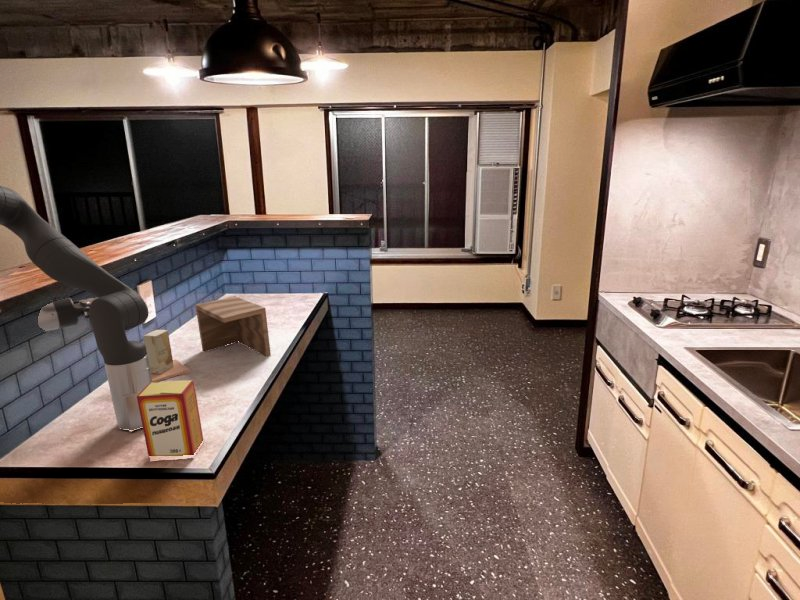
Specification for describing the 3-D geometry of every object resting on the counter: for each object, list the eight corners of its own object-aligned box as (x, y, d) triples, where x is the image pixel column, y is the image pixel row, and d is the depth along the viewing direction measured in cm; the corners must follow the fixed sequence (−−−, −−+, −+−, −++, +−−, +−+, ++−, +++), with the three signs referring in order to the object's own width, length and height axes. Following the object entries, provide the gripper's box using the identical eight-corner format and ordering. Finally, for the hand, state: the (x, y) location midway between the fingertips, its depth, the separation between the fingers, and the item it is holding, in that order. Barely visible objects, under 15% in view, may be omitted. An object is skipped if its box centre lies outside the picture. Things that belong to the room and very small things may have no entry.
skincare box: (161, 374, 150) (154, 336, 147) (148, 373, 151) (141, 335, 148) (174, 366, 156) (168, 329, 153) (163, 365, 157) (156, 328, 154)
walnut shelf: (270, 355, 164) (265, 307, 160) (230, 368, 155) (223, 318, 151) (240, 340, 180) (234, 296, 175) (202, 350, 171) (195, 304, 166)
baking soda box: (149, 461, 107) (136, 394, 103) (161, 445, 114) (149, 381, 109) (194, 459, 108) (182, 391, 103) (203, 442, 114) (193, 378, 110)
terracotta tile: (189, 371, 154) (189, 369, 153) (148, 384, 146) (148, 381, 146) (175, 361, 162) (175, 359, 162) (136, 372, 154) (135, 370, 154)
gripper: (55, 305, 124) (125, 291, 135) (45, 297, 134) (111, 284, 145) (62, 333, 126) (131, 317, 137) (52, 323, 136) (116, 309, 147)
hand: (120, 300), depth 141 cm, fingers open, 8 cm apart
